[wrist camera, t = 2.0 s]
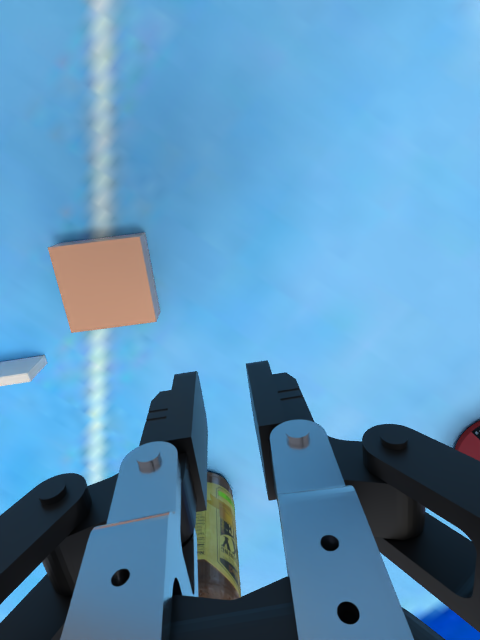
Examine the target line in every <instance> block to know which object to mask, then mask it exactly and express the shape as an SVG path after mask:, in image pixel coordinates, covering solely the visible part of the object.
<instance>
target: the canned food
mask: <svg viewBox="0 0 480 640" xmlns="http://www.w3.org/2000/svg"><path fill="white" fill-rule="evenodd" d="M455 450H457V451H460V452H462V453H464V454H466V455H468V456H470V457H472V458H474V459H477V460H479V461H480V421H478V422H476V423H474V424H473V425H471V426H470V427H469V428H468V429H467V430H466V431H465V432H464V433H463V434H462V435H461V437H460V438H459V439H458V442H457V444H456V447H455Z"/></svg>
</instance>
